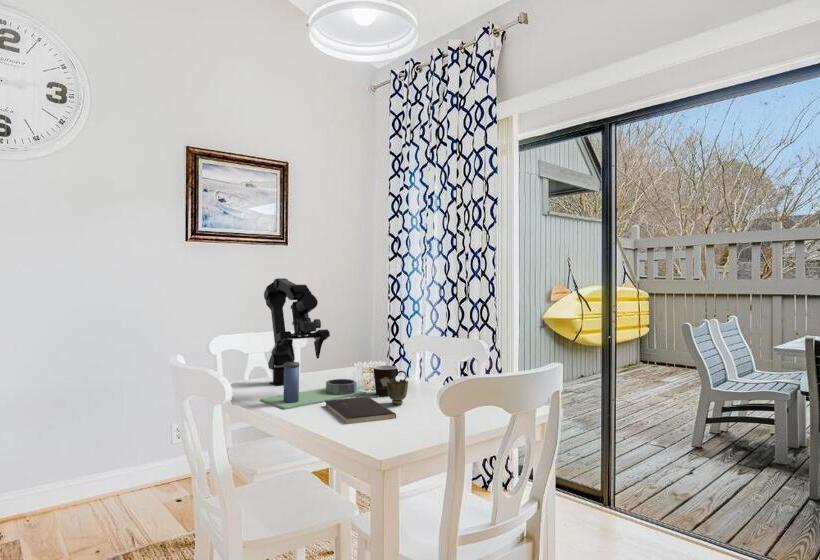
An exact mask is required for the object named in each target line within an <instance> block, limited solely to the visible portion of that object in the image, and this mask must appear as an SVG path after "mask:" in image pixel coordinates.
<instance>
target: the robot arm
mask: <svg viewBox="0 0 820 560" xmlns="http://www.w3.org/2000/svg"><path fill="white" fill-rule="evenodd" d="M263 298H264V300H265V304H266V306H267V307H268V309H269V310H270V313H271V322H272V330H273V338H274V340H273V341H274V345H273V348H272V350H271V355H270V357H269V361H268V369H269V370H272V381H269V384H271V385H274V386H284V363H286V362H295V352H294V347H293V344H294V343H293V341H294V340H297V339H302V340H303V339H314V341H313V342H314V343H313V344H314V351H315V356H316V359H319V358H320V355H321V350H322V346H323V343H324V341H326V340H327V339H328V338H329V337H331V333H330V331H329V329H328V328H327V329H321V327H322V322H321V319H320V318H315V319H313V321H312V320H311V319H312V318H311V317H309V313H310V312H312V311H313V310H314V309H315V308H316V307H317V306H318V305H319V304H318V303H319V302H318V299H317V297H316V296H315V295H314V294H312V291H311V290H310V289H309V287H308V286H307V284H296V283H294V282H292V281H291V280H289V279H288V278H280V277H279V278H278V277H277V278H274V279H273V282H272V283H270V284H268V285H267V286H266V288H265V290H264V292H263ZM287 299H288V300H289V301H292V304H291V305H290V310H291V313H292V326H293V330H294V332H293V333H292V332H291V330H286V325H285V315H284V306H285V304H286V303H287ZM317 329H318V330H317Z"/></svg>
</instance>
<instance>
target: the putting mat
mask: <svg viewBox="0 0 820 560" xmlns="http://www.w3.org/2000/svg"><path fill="white" fill-rule="evenodd" d="M366 393H367V392H366V391H363V390H359V389H356V392H355V393H352V394H346V395H334V394H329V393H327V392H326V387H322V388H316V389H315V388H314V389H311V390H310V389H309V390H305V391H299V401H298V402H296V403H285V402H284V394H279V395H276V396H269V397H265V398H259V401H260V402H262V403H266V404H268V405H272V406H274V407H277V408H280V409H283V410H290V409H295V408H301V407H303V406H304V407H305V406H310V405H315V404H320V403H326V402H325V401H328V400H338V399H348V398H351V397H352V398H353V397H357V396H361V395H365V394H366Z"/></svg>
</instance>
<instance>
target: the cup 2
mask: <svg viewBox="0 0 820 560" xmlns="http://www.w3.org/2000/svg"><path fill="white" fill-rule="evenodd" d="M408 387H409V381H408V380H407V379H405V378H404V379H402V378H401V379H399V380H398V381H397V379H396V378H395V380H393V379H391V381H390V380H389V381H388V380H387V391H388V397H389V399H390V400H391V404H392V405H394V406H395V405H396V406H399V405H402V404H403V402H404V401H403V400H404V399H406V397H407V393H408Z"/></svg>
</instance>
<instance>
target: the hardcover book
mask: <svg viewBox="0 0 820 560" xmlns="http://www.w3.org/2000/svg"><path fill="white" fill-rule="evenodd" d="M324 403H325V407H326V408H328V409H329V410H330V411H332V412H333V413H334V414H335V415H336V416H338V417H339V418H340V419H341V420H342V421H344V422H345V423H346V424H356V423H357V424H358V423H364V422H373V421H383V420H391V419H392V420H393V419H397V414H396V412H394V411H392V410H391V409H389V408H388V407H386V406H384V405H382V404H381V403H379V402H377V401H375V400H374V399H372V398H370V397H369V396H365V397H364V396H362V397H361V396H360V397H352V398H351V397H348V398H341V399H336V400H328V401H325V402H324Z"/></svg>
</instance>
